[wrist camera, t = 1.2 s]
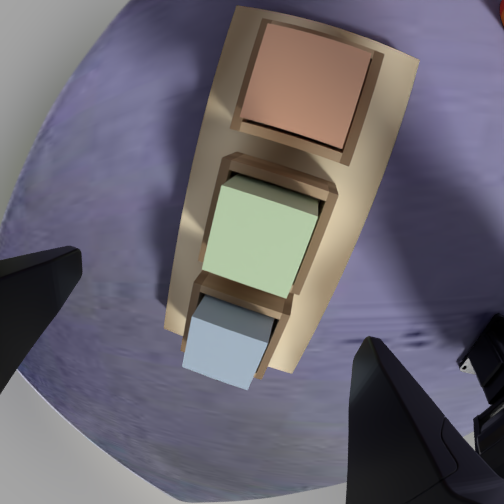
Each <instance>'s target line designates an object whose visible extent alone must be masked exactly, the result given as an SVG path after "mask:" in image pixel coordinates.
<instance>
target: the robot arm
mask: <svg viewBox="0 0 504 504" xmlns="http://www.w3.org/2000/svg"><path fill="white" fill-rule="evenodd" d="M81 276H82V255H81V251H80V249H78V248H76V247H73V246H65V247H60V248H55V249H50V250H45V251H40V252H36V253H31V254H26V255H22V256H17V257H13V258H8V259H4V260H0V394H1V392H2V391H3V389H4V388H5V386H6V385H7V383H8V382H9V380H10V378H11V377H12V375H13V374H14V372H15V371H16V370H17V368H18V367H19V365H20V364H21V362H22V361H23V359H24V358H25V357H26V355H27V354H28V352H29V351H30V349H31V348H32V347H33V345H34V344H35V343H36V341H37V340H38V338H39V337H40V336H41V334H42V333H43V332H44V330H45V329H46V328H47V326H48V325H49V324H50V323H51V321H52V320H53V319H54V317H55V316H56V315H57V313H58V312H59V310H60V309H61V307H62V306H63V304H64V303H65V301H66V300H67V298H68V297H69V295H70V294H71V292H72V290H73V289H74V287H75V286H76V284H77V283H78V281H79V280H80V278H81ZM459 369H460V371H462V372H466V373H470V374H475V375H476V376H477V378H478V381H479V383H480V386H481V387H482V388H483V391H484V393H485V396H486V398H487V401H488V404H490V405H491V406H490V407H489V408H487V409H486V410H485V411H484V412H483V413H481V414H480V415H478V416H476V417H475V418H474V419H473V422H474V438H475V451H474V449H473V448H472V447H471V446H470V445H469V444H468V443H467V442H466V441H465V439H464V438H463V437H462V436H461V435H460V434H459V432H458V431H457V430H456V429H455V428H454V426H453V425H452V424H451V423H450V421H449V420H448V419H447V418H446V417H445V415H444V414H443V413H442V412H441V410H440V409H439V408H438V407H437V405H436V404H435V403H434V402H433V401H432V399H431V398H430V397H429V396H428V394H427V393H426V392H425V391H424V390H423V388H422V387H421V386H420V385H419V384H418V382H417V381H416V380H415V379H414V378H413V377H412V375H411V374H410V373H409V372H408V371H407V369H406V368H405V367H404V366H403V365H402V364H401V362H400V361H399V360H398V359H397V358H396V357H395V355H394V354H393V353H392V352H391V351H390V350H389V348H388V347H387V346H386V345H385V344H384V343H383V341H382V340H381V339H379V338H375V337H371V336H368V337H366V338H365V339H364V341H363V343H362V344H361V346H360V348H359V350H358V351H357V353H356V355H355V357H354V360H353V366H352V378H351V388H350V398H349V436H348V472H347V491H346V504H504V316H503V315H501V314H496V315H495V316H494V317H493V318H492V320H491V322H490V323H489V325H488V326H487V328H486V329H485V330H484V332H483V333H482V335H481V336H480V338H479V339H478V341H477V342H476V343H475V345H474V346H473V347H472V349H471V350H470V352H469V353H468V354H467V356H466V357H465V358H464V359H463V361H462V362H461V363H460V365H459ZM444 417H445V418H444Z"/></svg>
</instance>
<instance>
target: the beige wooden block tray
mask: <svg viewBox="0 0 504 504" xmlns="http://www.w3.org/2000/svg"><path fill="white" fill-rule="evenodd" d="M268 23H269V24H274V25H279V26H283V27H288V28H292V29H296V30H300V31H304V32H307V33H311V34H315V35H318V36H322V37H325V38H328V39H332V40H335V41H338V42H341V43H344V44H347V45H350V46H353V47H356V48H358V49H361V50H364V51H367V52H369V53H372V54H371V58H370V61H369V65H368V68H367V72H366V75H365V78H364V82H363V85H362V88H361V91H360V95H359V98H358V101H357V104H356V108H355V111H354V114H353V117H352V120H351V123H350V126H349V129H348V132H347V135H346V138H345V141H344V144H343V147H342V149H341V148H338V147H335V146H333V145H330V144H327V143H324V142H321V141H318V140H315V139H312V138H309V137H306V136H303V135H300V134H297V133H294V132H291V131H287V130H284V129H281V128H278V127H274V126H271V125H267V124H264V123H260V122H257V121H253V120H249V119H245V118H242V117H240V114H241V110H242V107H243V103H244V100H245V96H246V93H247V89H248V86H249V82H250V79H251V76H252V72H253V69H254V66H255V62H256V59H257V56H258V52H259V49H260V46H261V43H262V39H263V36H264V33H265V30H266V27H267V24H268ZM419 61H420V60H418V59H416V58H414V57H412V56H410V55H407V54H405V53H403V52H401V51H398V50H396V49H394V48H391V47H389V46H387V45H384V44H382V43H379V42H377V41H374V40H371V39H369V38H366V37H363V36H360V35H358V34H355V33H352V32H349V31H346V30H343V29H340V28H336V27H333V26H330V25H327V24H323V23H320V22H316V21H312V20H308V19H305V18H301V17H296V16H292V15H288V14H283V13H279V12H274V11H268V10H263V9H257V8H251V7H245V6H238V5H237V6H236V9H235V12H234V15H233V18H232V21H231V24H230V27H229V30H228V33H227V36H226V39H225V43H224V46H223V49H222V52H221V56H220V59H219V63H218V66H217V69H216V73H215V76H214V80H213V84H212V87H211V91H210V95H209V98H208V102H207V106H206V110H205V114H204V118H203V121H202V126H201V130H200V134H199V138H198V142H197V146H196V151H195V155H194V159H193V164H192V168H191V173H190V177H189V182H188V187H187V192H186V196H185V201H184V206H183V212H182V217H181V222H180V227H179V233H178V238H177V244H176V250H175V256H174V262H173V268H172V274H171V281H170V287H169V294H168V301H167V308H166V316H165V323H164V329H167V330H169V331H172V332H174V333H177V334H179V335H182V336H183V339H182V345H181V351H182V352H185V349H186V344H187V339H188V333H189V328H190V323H191V318H192V315H193V314H194V312H195V310H196V309H197V307H198V306H199V304H200V302H201V301H202V299H203V298H204V296H205V294H207V295H210V296H213V297H215V298H218V299H221V300H224V301H226V302H229V303H232V304H235V305H238V306H241V307H244V308H246V309H249V310H252V311H255V312H258V313H261V314H264V315H267V316H270V317H273V318H274V321H273V325H272V329H271V333H270V337H269V341H268V344H267V347H266V349H265V351H264V354H263V356H262V358H261V361H260V363H259V365H258V367H257V370H256V372H255V374H254V377H255V378H258V379H262V377H263V375H264V373H265V371H266V369H267V367H268V366H269V367H272V368H275V369H278V370H281V371H285V372H288V373H291V374H292V373H293V371H294V369H295V367H296V365H297V364H298V362H299V360H300V358H301V356H302V354H303V352H304V351H305V349H306V347H307V345H308V343H309V341H310V339H311V337H312V335H313V333H314V331H315V329H316V327H317V325H318V323H319V321H320V319H321V317H322V315H323V313H324V311H325V309H326V307H327V305H328V303H329V301H330V299H331V297H332V295H333V293H334V291H335V289H336V286H337V284H338V282H339V280H340V278H341V276H342V274H343V271H344V269H345V267H346V265H347V262H348V260H349V258H350V256H351V253H352V251H353V249H354V247H355V244H356V242H357V240H358V237H359V235H360V233H361V230H362V228H363V225H364V223H365V221H366V218H367V216H368V213H369V211H370V208H371V206H372V203H373V201H374V198H375V196H376V193H377V190H378V188H379V185H380V182H381V180H382V177H383V174H384V172H385V169H386V166H387V164H388V161H389V158H390V155H391V152H392V149H393V146H394V144H395V141H396V138H397V135H398V132H399V129H400V126H401V122H402V119H403V116H404V113H405V110H406V107H407V103H408V100H409V97H410V93H411V90H412V86H413V83H414V79H415V76H416V72H417V68H418V65H419ZM237 174H241V175H244V176H247V177H251V178H254V179H257V180H260V181H263V182H267V183H270V184H273V185H276V186H279V187H282V188H285V189H288V190H291V191H294V192H297V193H300V194H303V195H306V196H309V197H312V198H314V199H317V200H318V218H317V221H316V224H315V227H314V229H313V232H312V235H311V237H310V240H309V243H308V245H307V248H306V250H305V253H304V256H303V258H302V261H301V263H300V266H299V269H298V271H297V274H296V276H295V279H294V281H293V284H292V286H291V289H290V291H289V294H288V296H287V299H286V298H283V297H280V296H277V295H274V294H271V293H268V292H265V291H262V290H259V289H256V288H254V287H251V286H248V285H245V284H242V283H239V282H236V281H233V280H231V279H228V278H225V277H222V276H219V275H216V274H213V273H211V272H208V271H205V270H202V266H203V262H204V257H205V253H206V248H207V244H208V240H209V235H210V231H211V227H212V223H213V218H214V214H215V210H216V206H217V202H218V198H219V194H220V190H221V186H222V184H224V183H225V182H227V181H228V180H230V179H231V178H232V177H234V176H235V175H237Z"/></svg>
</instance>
